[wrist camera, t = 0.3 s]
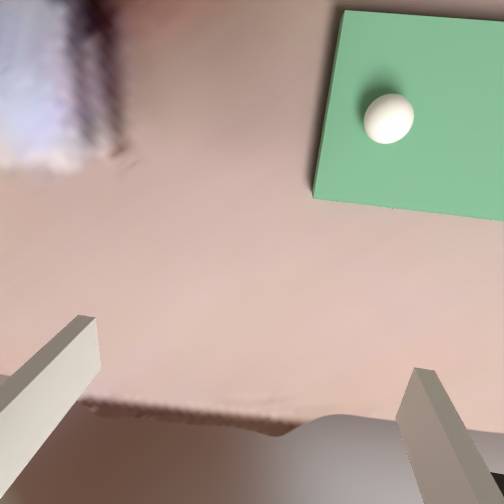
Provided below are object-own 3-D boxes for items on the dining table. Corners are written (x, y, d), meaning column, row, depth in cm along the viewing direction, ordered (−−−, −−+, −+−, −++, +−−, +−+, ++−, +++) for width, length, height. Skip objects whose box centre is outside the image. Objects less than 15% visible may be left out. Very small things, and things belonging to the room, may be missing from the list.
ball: (365, 93, 29) (375, 89, 26) (411, 97, 29) (427, 94, 25) (355, 140, 31) (363, 142, 27) (398, 144, 30) (413, 147, 27)
